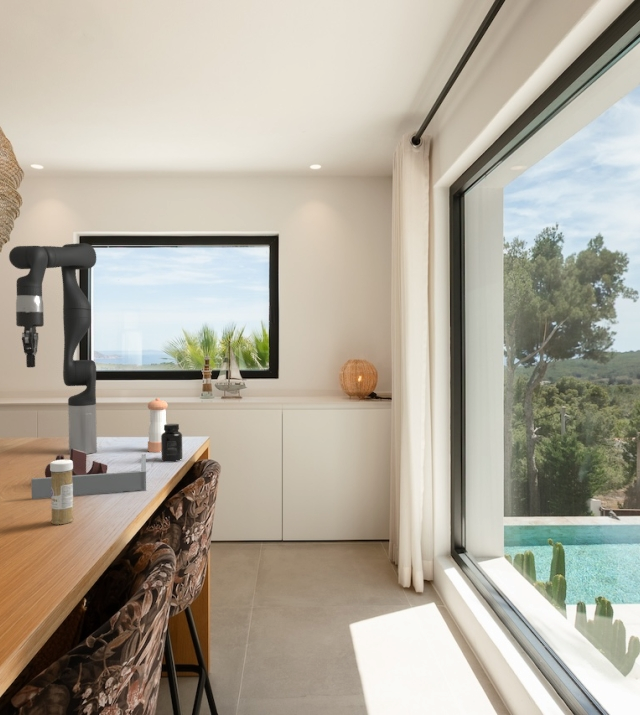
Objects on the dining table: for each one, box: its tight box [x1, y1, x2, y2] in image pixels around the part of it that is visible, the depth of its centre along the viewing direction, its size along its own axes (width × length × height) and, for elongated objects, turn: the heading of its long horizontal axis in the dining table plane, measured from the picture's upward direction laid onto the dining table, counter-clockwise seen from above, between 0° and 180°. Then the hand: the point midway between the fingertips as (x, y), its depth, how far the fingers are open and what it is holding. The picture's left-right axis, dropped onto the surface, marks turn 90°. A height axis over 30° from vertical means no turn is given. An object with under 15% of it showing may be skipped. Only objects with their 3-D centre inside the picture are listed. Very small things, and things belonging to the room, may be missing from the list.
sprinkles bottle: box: [49, 459, 74, 525], centre depth 125 cm, size 5×5×14 cm
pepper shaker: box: [147, 397, 169, 453], centre depth 208 cm, size 7×7×19 cm
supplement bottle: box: [160, 423, 183, 462], centre depth 191 cm, size 7×7×12 cm
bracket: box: [44, 448, 108, 478], centre depth 160 cm, size 6×17×10 cm, turn 81°
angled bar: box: [30, 453, 147, 500], centre depth 160 cm, size 25×28×5 cm
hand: (30, 367), depth 176 cm, fingers closed
